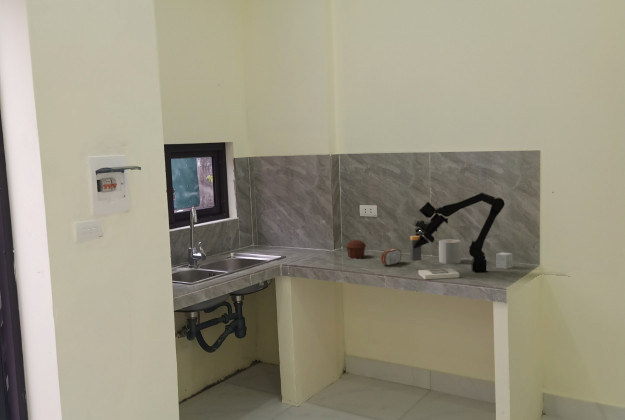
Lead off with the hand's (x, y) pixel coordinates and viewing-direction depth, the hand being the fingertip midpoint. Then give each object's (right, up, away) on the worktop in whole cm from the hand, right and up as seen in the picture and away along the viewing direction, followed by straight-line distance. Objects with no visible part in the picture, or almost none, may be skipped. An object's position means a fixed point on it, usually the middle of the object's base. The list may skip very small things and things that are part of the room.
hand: (413, 247), depth 322 cm
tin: (-8, -11, +24) cm, 28 cm away
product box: (+48, -11, +5) cm, 49 cm away
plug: (+2, -7, +1) cm, 7 cm away
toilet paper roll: (+24, -10, +25) cm, 36 cm away
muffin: (-25, -9, +50) cm, 56 cm away
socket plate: (+11, -14, -9) cm, 20 cm away
